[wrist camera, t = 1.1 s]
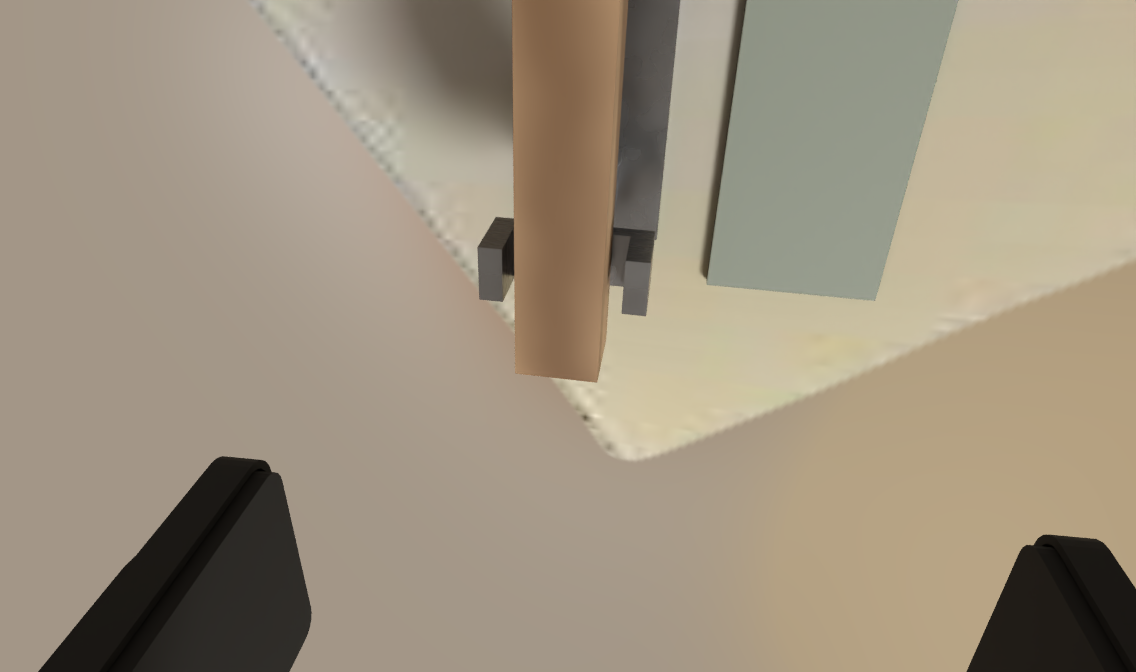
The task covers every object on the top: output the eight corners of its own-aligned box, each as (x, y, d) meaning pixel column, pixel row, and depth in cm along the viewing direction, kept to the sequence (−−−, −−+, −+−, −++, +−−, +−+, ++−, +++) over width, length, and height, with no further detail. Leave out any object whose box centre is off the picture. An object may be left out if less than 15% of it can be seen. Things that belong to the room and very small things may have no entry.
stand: (698, -189, 31) (697, -218, 22) (657, 233, 41) (643, 342, 32) (532, -193, 32) (460, -223, 22) (531, 222, 42) (480, 325, 32)
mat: (1025, -261, 29) (1031, -264, 28) (872, 295, 41) (875, 300, 41) (783, -264, 30) (784, -267, 29) (706, 279, 42) (706, 284, 42)
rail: (646, -271, 23) (638, -293, 20) (605, 339, 35) (597, 382, 32) (533, -273, 23) (509, -294, 21) (531, 331, 35) (515, 373, 32)
